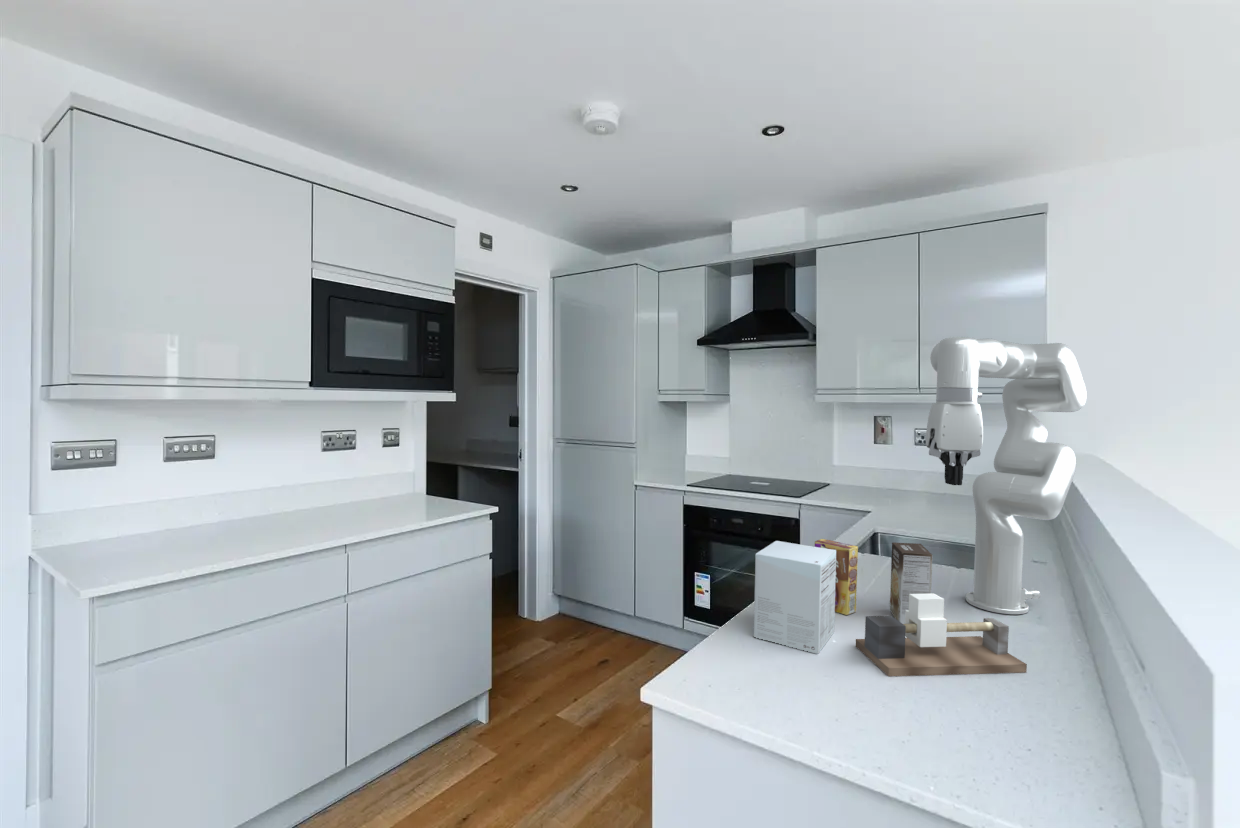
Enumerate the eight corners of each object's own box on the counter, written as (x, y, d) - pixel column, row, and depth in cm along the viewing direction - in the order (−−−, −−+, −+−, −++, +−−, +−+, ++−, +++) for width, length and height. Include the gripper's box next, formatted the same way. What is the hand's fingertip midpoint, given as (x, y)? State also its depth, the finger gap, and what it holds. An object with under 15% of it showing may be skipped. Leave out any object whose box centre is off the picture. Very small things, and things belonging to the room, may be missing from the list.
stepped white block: (929, 635, 112) (930, 591, 112) (946, 646, 107) (947, 601, 107) (904, 635, 112) (906, 592, 111) (920, 647, 107) (921, 601, 106)
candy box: (857, 612, 133) (859, 545, 132) (847, 616, 130) (849, 548, 130) (822, 600, 140) (823, 537, 139) (811, 604, 137) (813, 540, 137)
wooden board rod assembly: (979, 643, 117) (981, 606, 117) (1026, 672, 105) (1028, 631, 105) (855, 646, 115) (856, 609, 114) (888, 676, 103) (890, 634, 102)
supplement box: (835, 632, 122) (838, 549, 121) (818, 655, 111) (821, 564, 110) (773, 617, 129) (775, 539, 128) (752, 638, 118) (754, 553, 117)
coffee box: (888, 610, 134) (890, 541, 134) (918, 612, 133) (920, 543, 132) (899, 625, 125) (901, 552, 125) (931, 628, 124) (934, 554, 124)
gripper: (977, 397, 126) (974, 481, 127) (912, 396, 125) (909, 481, 126) (1003, 397, 119) (999, 487, 119) (933, 396, 117) (930, 487, 118)
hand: (953, 484), depth 122 cm, fingers closed
